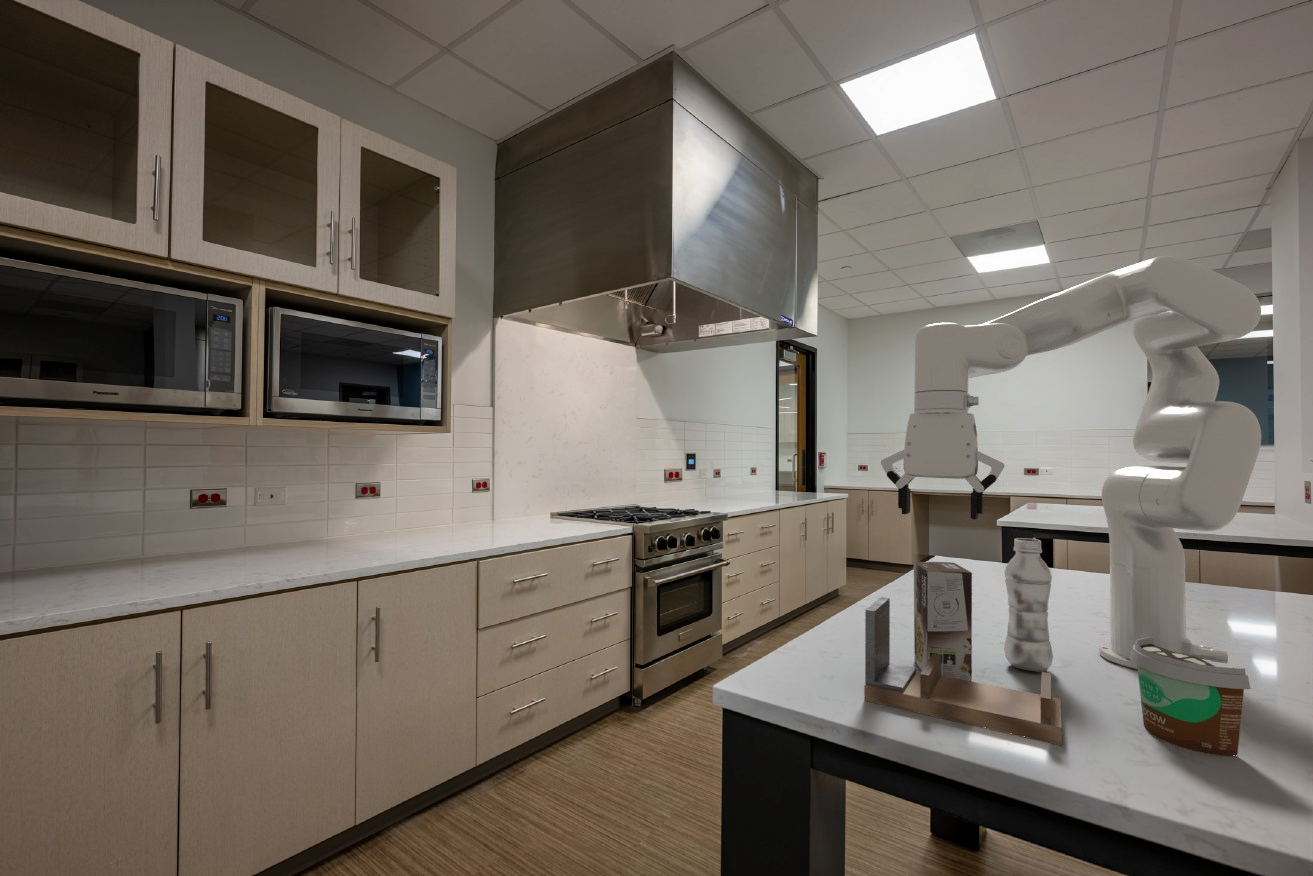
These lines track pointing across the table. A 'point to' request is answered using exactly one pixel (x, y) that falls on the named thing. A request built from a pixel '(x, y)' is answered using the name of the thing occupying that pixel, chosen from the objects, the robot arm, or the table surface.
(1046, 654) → the plastic bottle
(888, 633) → the bookend
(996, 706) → the book rack
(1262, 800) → the table surface
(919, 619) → the coffee box
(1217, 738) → the food container
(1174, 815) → the table surface
